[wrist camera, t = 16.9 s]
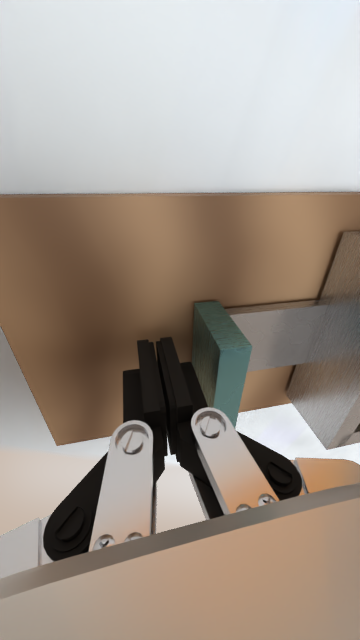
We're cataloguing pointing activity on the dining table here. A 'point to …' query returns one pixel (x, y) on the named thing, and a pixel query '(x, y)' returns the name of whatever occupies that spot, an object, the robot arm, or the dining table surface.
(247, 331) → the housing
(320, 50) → the dining table surface
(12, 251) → the board
